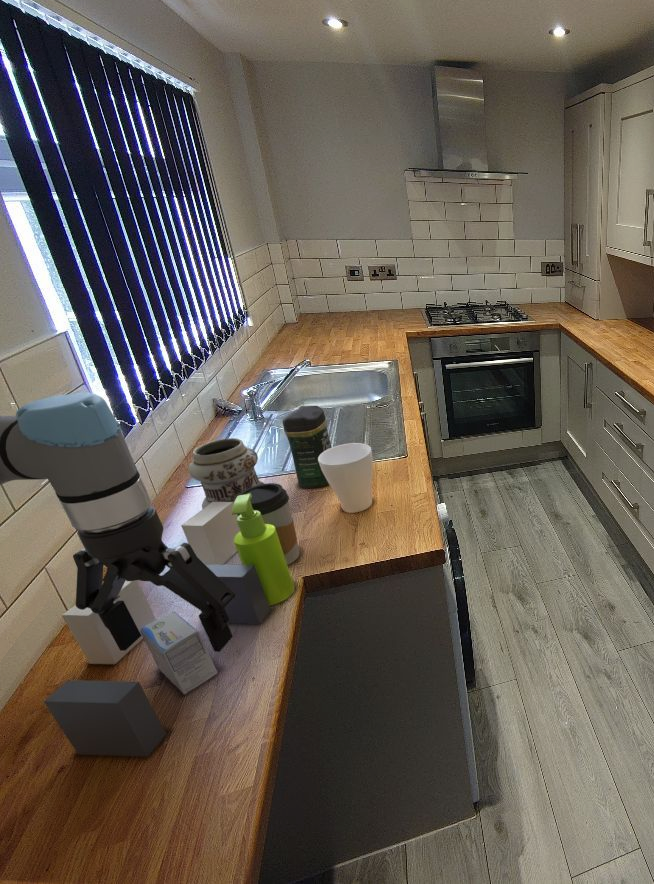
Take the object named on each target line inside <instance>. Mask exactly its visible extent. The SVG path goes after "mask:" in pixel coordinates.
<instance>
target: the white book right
mask: <svg viewBox="0 0 654 884" xmlns="http://www.w3.org/2000/svg"><path fill="white" fill-rule="evenodd" d="M232 508H233V502H212V503H210V504H209V505H208V506H206V507H205V508H204V509H202V508H201V510H200V511H199V512H197V513H196V514H194V515H193V516H192V517H190V518H189V519H188V520H186V521H185V522H184V523H182V524H180V527H181V529H182V532H183V534H184V536H185V539H186V540H187V543H188V544H190V546H191V547H192V549H193V551H194V552H195V554H196V556H197V557H198V558H199V559H200V560H201V561H202V562H203V563H204V564H219V565H225V563H226V562H227V561H228V560H230V559H231V558H232V557H233V556H235V554H236V553H238V551H237V548H236V546H235V543H234V537H235V536H236V535H237V534H238V533H239V532H240V529H239V526H238V523H237V520H236V519H237V517H238V516H237V514H236V515H232Z"/></svg>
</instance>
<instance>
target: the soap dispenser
mask: <svg viewBox="0 0 654 884" xmlns="http://www.w3.org/2000/svg"><path fill="white" fill-rule="evenodd" d="M251 497H252V495H251V493H250V494H244V495H239V496H237V497H236V499H235V501H234V504H233V508H232V515H236V514H240V515H239V516H238V517H237V519H236V520H237V523H238V526H239V529H240V532H239V533H238V534H237V535H236V536H235V537H234V543H235V546H236V548H237V554H238V556H239V559H240V562H241V565H255V568H256V570H257V573H258V576H259V579H260V582H261V584H262V587H263V590H264V593H265V596H266V598H267V601H268V604H269V606H273V605H277V604H279V603H281V602H284V601H285V600H287V599H288V598H289V597H290V596H291V595H293V593H294V592H295V585H294V582H293V578H292V575H291V572H290V569H289V565H287V563H286V560H285V557H284V554H283V551H282V547H281V544H280V541H279V538H278V535H277V532H276V529H275V527H274V526H273V525H271V524H264V521H263V518H262V515H261V512H260V511H258V510H253V508H252V505H251V502H250V499H251Z"/></svg>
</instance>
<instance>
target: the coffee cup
mask: <svg viewBox="0 0 654 884" xmlns="http://www.w3.org/2000/svg"><path fill="white" fill-rule="evenodd" d="M250 493H251V495H252V497H251V499H250V502H251V505H252V508H253V510H258V511H260V512H261V515H262V518H263V521H264V524H271V525H273V526H274V527H275V529H276V532H277V535H278V538H279V541H280V544H281V547H282V551H283V554H284V557H285V560H286V563H287V566H289V565H290V564H292V563H294V562H296V560H297V559H298V558H299V557H300V553H301V552H300V547H299V543H298V537H297V532H296V527H295V522H294V518H293V515H292V510H291V506H290V505H291V504H290V501H289V500H290V496H289V495H288V492H287V490H286V489H285V488H284V487H283V486H282V485H281V484H279V483H275V482H274V483H273V482H269V483H265V484H260V485H257V486H253V487H251V488H248V489H246V490H244V491H242V492H241V493H239V494H238V496H239V495H244V494H250ZM238 515H240V514H238Z"/></svg>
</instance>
